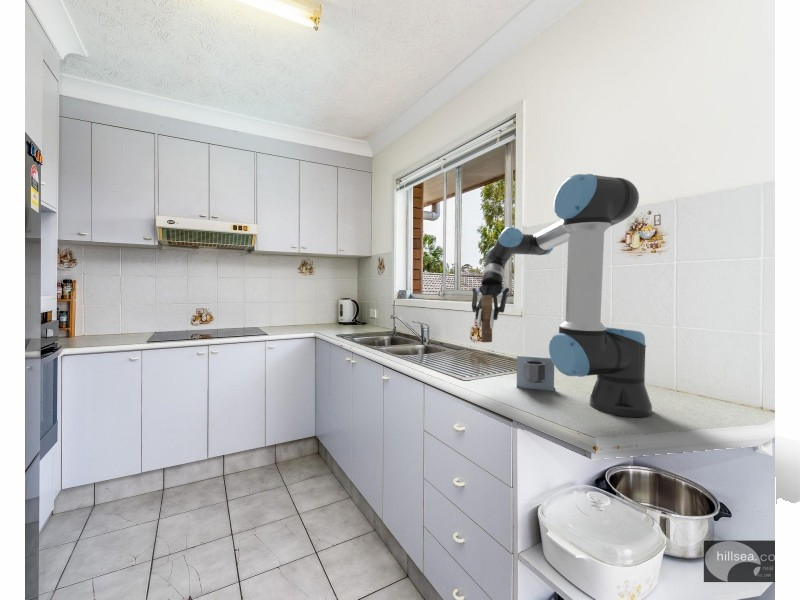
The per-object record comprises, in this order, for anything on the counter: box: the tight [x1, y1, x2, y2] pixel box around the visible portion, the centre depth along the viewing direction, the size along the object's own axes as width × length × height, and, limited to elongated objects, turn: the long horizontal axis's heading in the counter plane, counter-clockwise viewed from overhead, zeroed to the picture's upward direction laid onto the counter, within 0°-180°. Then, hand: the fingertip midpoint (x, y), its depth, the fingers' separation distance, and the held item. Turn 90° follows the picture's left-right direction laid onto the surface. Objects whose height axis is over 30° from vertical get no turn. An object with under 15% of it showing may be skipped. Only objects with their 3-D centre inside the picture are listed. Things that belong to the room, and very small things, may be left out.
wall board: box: [516, 355, 555, 392], centre depth 124 cm, size 5×12×11 cm, turn 67°
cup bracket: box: [524, 360, 545, 383], centre depth 118 cm, size 8×6×6 cm
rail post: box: [480, 294, 493, 343], centre depth 123 cm, size 4×4×16 cm
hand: (484, 325), depth 119 cm, fingers closed on rail post, 3 cm apart
